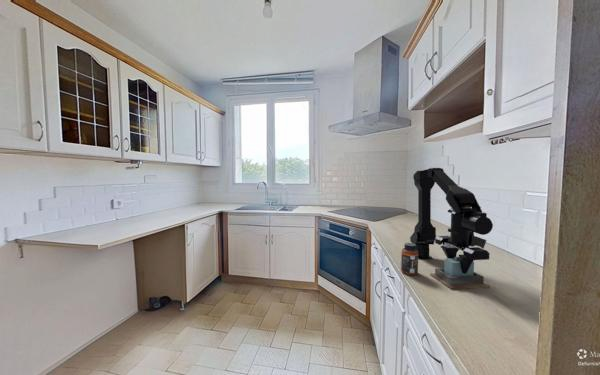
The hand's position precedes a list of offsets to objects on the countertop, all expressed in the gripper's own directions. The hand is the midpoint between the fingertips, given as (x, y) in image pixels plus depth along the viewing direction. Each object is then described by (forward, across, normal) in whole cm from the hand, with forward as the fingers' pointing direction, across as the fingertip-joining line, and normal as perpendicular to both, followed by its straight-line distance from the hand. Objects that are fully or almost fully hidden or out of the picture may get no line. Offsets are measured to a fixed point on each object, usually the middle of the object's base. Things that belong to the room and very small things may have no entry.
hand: (458, 270), depth 84 cm
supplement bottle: (+4, +8, +14) cm, 16 cm away
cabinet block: (+3, 0, 0) cm, 3 cm away
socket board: (+4, 0, 0) cm, 4 cm away
